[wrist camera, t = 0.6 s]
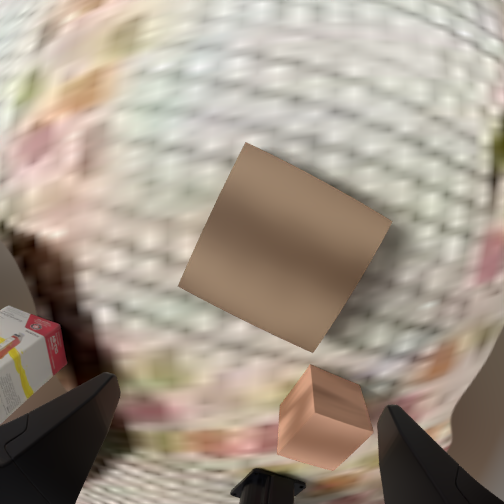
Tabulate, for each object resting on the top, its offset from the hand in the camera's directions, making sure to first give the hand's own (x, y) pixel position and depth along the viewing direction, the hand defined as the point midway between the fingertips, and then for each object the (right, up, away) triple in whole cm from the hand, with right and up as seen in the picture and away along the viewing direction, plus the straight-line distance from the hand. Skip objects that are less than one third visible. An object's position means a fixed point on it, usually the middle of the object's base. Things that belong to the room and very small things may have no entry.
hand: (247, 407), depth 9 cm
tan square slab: (+2, +5, +13) cm, 14 cm away
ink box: (-23, -4, +18) cm, 29 cm away
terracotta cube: (+6, -7, +16) cm, 18 cm away
